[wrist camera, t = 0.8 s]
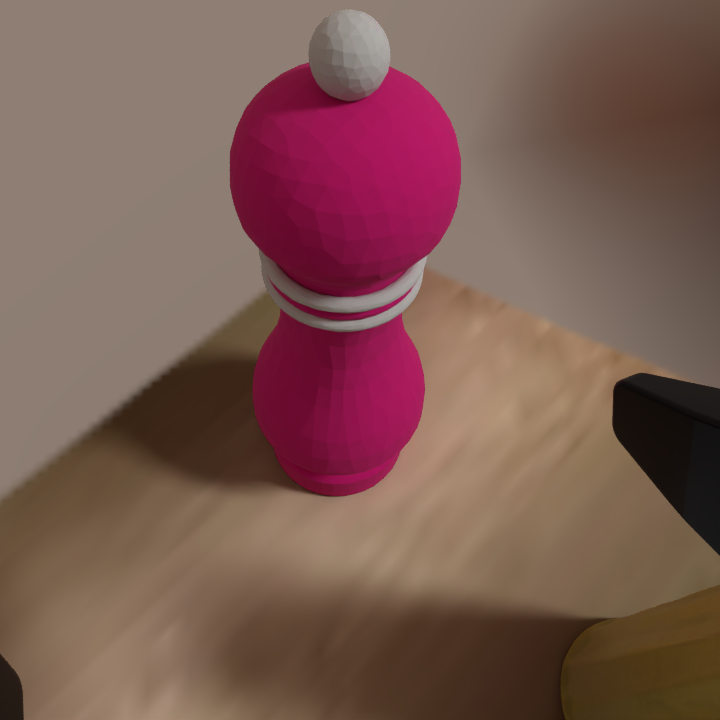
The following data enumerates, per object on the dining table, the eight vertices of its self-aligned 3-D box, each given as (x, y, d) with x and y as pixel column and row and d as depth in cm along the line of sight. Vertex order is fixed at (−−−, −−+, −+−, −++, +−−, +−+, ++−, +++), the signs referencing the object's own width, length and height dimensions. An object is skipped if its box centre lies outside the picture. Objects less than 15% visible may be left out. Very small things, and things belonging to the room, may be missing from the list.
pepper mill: (231, 432, 29) (97, 2, 12) (340, 347, 32) (354, -95, 15) (334, 541, 26) (345, 188, 10) (442, 437, 29) (596, 28, 12)
